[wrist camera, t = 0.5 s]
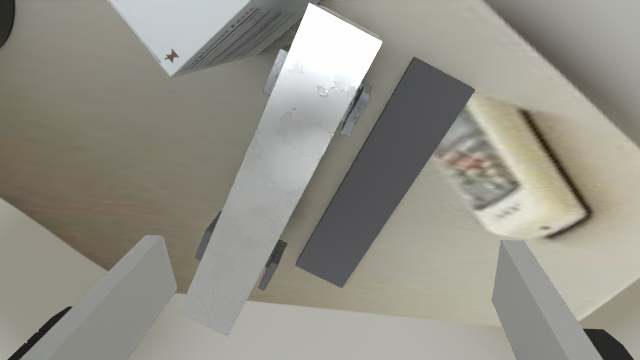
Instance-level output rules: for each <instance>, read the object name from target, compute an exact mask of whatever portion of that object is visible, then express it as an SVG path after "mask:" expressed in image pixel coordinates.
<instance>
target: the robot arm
mask: <svg viewBox="0 0 640 360" xmlns="http://www.w3.org/2000/svg"><path fill="white" fill-rule="evenodd" d="M13 10H14V9H13V0H0V46H1V45H2V44H3V43H4V41H5V40H6V38H7V36H8V34H9V32H10V29H11V25H12V21H13ZM176 290H177V285H176V282H175V278H174V274H173V271H172V267H171V263H170V260H169V256H168V252H167V249H166V245H165V241H164V238H163V235H145V236H144V237H143V238H142V239H141V240H140V241H139V242H138V243H137V244H136V245H135V246H134V247H133V248H132V249H131V250H130V251H129V252H128V253H127V254H126V255H125V256H124V257H123V258H122V259H121V260H120V261H119V262H118V263H117V264H116V265H115V266H114V267H113V268H112V269H111V270H110V271H109V272H108V273H107V274H106V275H105V276H104V277H103V278H102V279H101V280H100V281H99V282H98V283H97V284H96V285H95V286H94V287H93V288H92V289H91V290H90V291H89V292H88V293H87V294H85V295H84V297H83V298H82V299H80V301H78V303H76V304H75V305H74V306H73V307H67V308H66V309H64V310H63V311H61V312H59V313H58V314H56V315H55V316H53V317H52V318H51V319H50V320H49V321H48V322H47V323H45V324H44V325H43V326H42V327H41V328H40V329H39V332H38V333H35V334H34V335H33V336H32V337H31V338H30V339H29V340H28V342H27V343H24V344H23V345H22V347H20V348H19V349H18V350H17V351H16V352H15V353H14V354H13V355H12V356H11V357H10V358H9V359H8V360H128V359H129V357H130V356H131V354H132V353H133V352H134V350H135V349H136V347H137V346H138V344H139V343H140V342H141V340H142V339H143V337H144V336H145V334H146V333H147V331H148V330H149V329H150V327H151V326H152V324H153V323H154V322H155V320H156V319H157V317H158V316H159V314H160V313H161V311H162V310H163V309H164V307H165V306H166V304H167V303H168V302H169V300H170V299H171V297H172V296H173V294H174V293H175V292H176ZM492 302H493V304H494V307H495V309H496V311H497V314H498V316H499V319H500V321H501V323H502V326H503V328H504V330H505V333H506V335H507V338H508V340H509V342H510V345H511V347H512V350H513V352H514V354H515V357H516V359H517V360H634V359H633V358H632V357H631V355H630V354H629V353H628V351H627V350H626V349H625V347H624V346H623V345H622V344H621V343H620V342H618V341H617V340H616V339H615V338H613V337H612V336H611V335H609V334H608V333H607V332H606V331H605V330H602V329H582V327H581V326H580V324H579V323H578V321H577V320H576V318H575V317H574V315H573V314H572V312H571V311H570V309H569V308H568V306H567V305H566V303H565V302H564V300H563V299H562V297H561V296H560V294H559V293H558V291H557V290H556V288H555V287H554V285H553V284H552V282H551V281H550V279H549V278H548V276H547V275H546V273H545V272H544V270H543V269H542V267H541V266H540V264H539V263H538V261H537V260H536V258H535V257H534V255H533V254H532V252H531V251H530V249H529V248H528V246H527V245H526V243H525V242H524V241H510V240H501V245H500V251H499V257H498V264H497V270H496V276H495V283H494V289H493V296H492Z"/></svg>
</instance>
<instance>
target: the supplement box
mask: <svg viewBox="0 0 640 360" xmlns="http://www.w3.org/2000/svg"><path fill="white" fill-rule="evenodd" d="M320 1H321V0H108V2H109V3H110V4H111V5H112V6H113V7H114V9H115V10H116V11H117V12H118V13H119V15H120V16H121V17H122V18H123V19H124V20H125V22H126V23H127V24H128V25H129V27H130V28H131V29H132V30H133V31H134V33H135V34H136V35H137V36H138V38H139V39H140V40H141V41H142V43H143V44H144V45H145V46H146V48H147V49H148V50H149V51H150V53H151V54H152V55H153V56H154V58H155V59H156V60H157V61H158V63H159V64H160V65H161V67H162V68H163V69H164V71H165V72H166V73H167V75H168V76H169V77H176V76H180V75H183V74H187V73H190V72H194V71H198V70H201V69H205V68H209V67H212V66H216V65H219V64H223V63H227V62H231V61H234V60H238V59H242V58H246V57H249V56H253V55H257V54H259V53H261V52H262V51H263V50H264V49H266V48H267V47H268V46H269V45H271V44H272V43H273V42H274V41H275V40H277V39H278V38H279V37H280V36H281V35H282V34H284V33H285V32H286V31H287V30H288V29H289V28H291V27H292V26H293V25H294V24H295V23H296V22H297V21H299V20H300V19H301V18H302V17H303V16H304V15H305V13H306V10H307V8H308V5H309V3H311V4H316V5H317V4H318V3H319V2H320Z"/></svg>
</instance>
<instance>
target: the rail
mask: <svg viewBox="0 0 640 360" xmlns="http://www.w3.org/2000/svg"><path fill="white" fill-rule="evenodd" d="M381 43H382V39H381V36H379V35H377V34H375V33H373V32H371V31H369V30H368V29H366V28H364V27H362V26H360V25H358V24H356V23H355V22H353V21H351V20H349V19H347V18H345V17H343V16H341V15H340V14H338V13H336V12H334V11H332V10H330V9H328V8H327V7H325V6H321V5H316V4H311V3H309V5H308V8H307V10H306V13H305V15H304V17H303V20H302V22H301V24H300V27H299V29H298V32H297V34H296V36H295V39H294V41H293V43H292V46H291V48H290V51H289V53H288V55H287V58H286V60H285V62H284V65H283V67H282V70H281V72H280V74H279V77H278V79H277V81H276V84H275V86H274V89H273V91H272V93H271V96H270V98H269V100H268V103H267V105H266V108H265V110H264V112H263V115H262V117H261V119H260V122H259V124H258V127H257V129H256V131H255V134H254V136H253V138H252V141H251V143H250V146H249V148H248V150H247V153H246V155H245V157H244V160H243V162H242V165H241V167H240V169H239V172H238V174H237V176H236V179H235V181H234V184H233V186H232V188H231V191H230V193H229V195H228V198H227V200H226V203H225V205H224V207H223V210H222V212H221V214H220V217H219V219H218V222H217V224H216V226H215V229H214V231H213V233H212V236H211V238H210V241H209V243H208V245H207V248H206V250H205V252H204V255H203V257H202V260H201V262H200V264H199V267H198V269H197V271H196V274H195V276H194V279H193V281H192V283H191V286H190V288H189V290H188V293H187V295H186V298H185V300H184V302H183V305H182V307H181V309H180V312H179V314H181V315H183V316H186V317H188V318H190V319H192V320H194V321H196V322H198V323H200V324H203V325H205V326H207V327H209V328H211V329H213V330H215V331H217V332H220V333H222V334H224V335H226V336H228V335H229V333H230V331H231V329H232V326H233V325H234V323H235V321H236V319H237V317H238V315H239V314H240V312H241V310H242V308H243V306H244V304H245V302H246V300H247V298H248V296H249V295H250V293H251V291H252V289H253V287H254V285H255V283H256V281H257V279H258V277H259V276H260V274H261V272H262V270H263V268H264V266H265V264H266V262H267V260H268V258H269V256H270V255H271V253H272V251H273V249H274V247H275V245H276V243H277V241H278V239H279V237H280V236H281V234H282V232H283V230H284V228H285V226H286V224H287V222H288V220H289V218H290V217H291V215H292V213H293V211H294V209H295V207H296V205H297V203H298V201H299V199H300V198H301V196H302V194H303V192H304V190H305V188H306V186H307V184H308V182H309V180H310V178H311V177H312V175H313V173H314V171H315V169H316V167H317V165H318V163H319V161H320V159H321V158H322V156H323V154H324V152H325V150H326V148H327V146H328V144H329V142H330V140H331V139H332V137H333V135H334V133H335V131H336V129H337V127H338V125H339V123H340V121H341V120H342V118H343V116H344V114H345V112H346V110H347V108H348V106H349V104H350V102H351V100H352V99H353V97H354V95H355V93H356V91H357V89H358V87H359V85H360V83H361V81H362V80H363V78H364V76H365V74H366V72H367V70H368V68H369V66H370V64H371V62H372V61H373V59H374V57H375V55H376V53H377V51H378V49H379V47H380V45H381Z"/></svg>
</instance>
